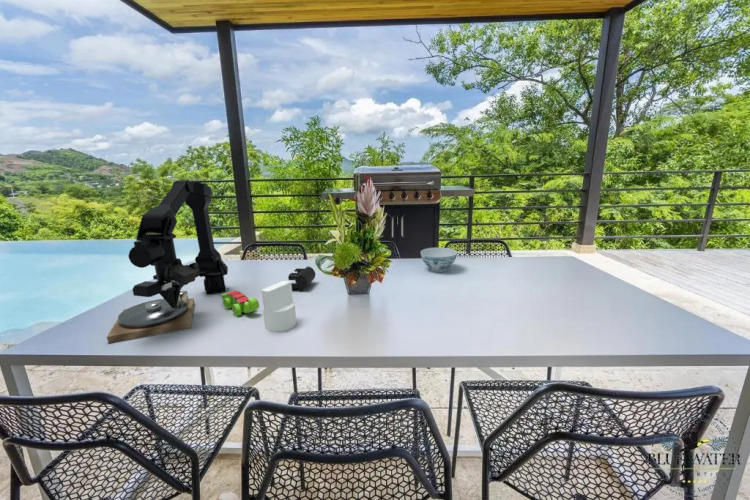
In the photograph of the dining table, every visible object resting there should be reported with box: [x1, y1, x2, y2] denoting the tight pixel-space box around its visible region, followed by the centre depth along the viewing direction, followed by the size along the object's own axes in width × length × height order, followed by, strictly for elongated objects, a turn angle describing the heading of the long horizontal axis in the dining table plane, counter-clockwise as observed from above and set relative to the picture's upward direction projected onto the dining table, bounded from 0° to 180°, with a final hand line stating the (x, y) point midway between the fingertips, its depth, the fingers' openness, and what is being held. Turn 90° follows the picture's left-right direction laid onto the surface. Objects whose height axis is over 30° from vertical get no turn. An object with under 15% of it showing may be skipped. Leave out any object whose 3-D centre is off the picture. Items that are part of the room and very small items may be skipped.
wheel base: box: [106, 297, 195, 345], centre depth 107 cm, size 20×20×2 cm
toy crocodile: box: [220, 290, 260, 317], centre depth 114 cm, size 20×7×6 cm, turn 44°
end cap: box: [287, 266, 316, 292], centre depth 132 cm, size 10×7×7 cm
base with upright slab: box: [260, 280, 297, 333], centre depth 101 cm, size 9×9×12 cm
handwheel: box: [117, 290, 190, 328], centre depth 106 cm, size 18×18×6 cm
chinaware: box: [420, 247, 458, 273], centre depth 147 cm, size 15×15×8 cm
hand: (174, 307), depth 104 cm, fingers closed
